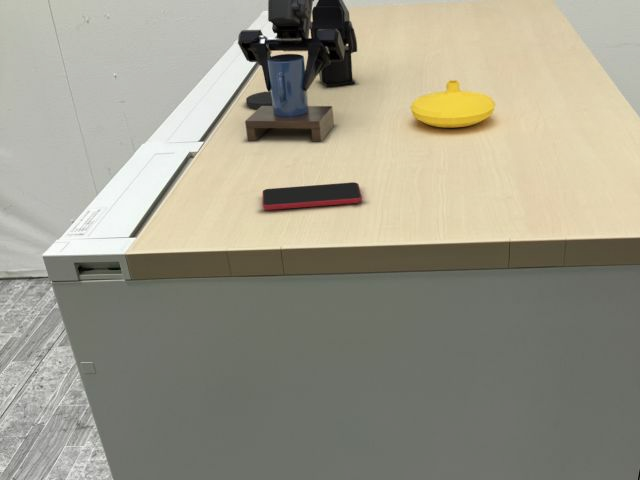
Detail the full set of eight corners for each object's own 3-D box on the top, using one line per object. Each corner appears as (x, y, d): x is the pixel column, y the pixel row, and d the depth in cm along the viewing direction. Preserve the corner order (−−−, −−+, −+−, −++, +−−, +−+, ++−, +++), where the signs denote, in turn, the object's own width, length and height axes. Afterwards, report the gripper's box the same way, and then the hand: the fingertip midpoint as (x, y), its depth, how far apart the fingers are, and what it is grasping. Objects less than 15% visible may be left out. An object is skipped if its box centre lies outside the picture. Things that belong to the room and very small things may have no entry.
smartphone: (362, 198, 124) (262, 205, 123) (362, 204, 124) (263, 211, 123) (358, 181, 129) (262, 189, 128) (358, 187, 130) (263, 194, 129)
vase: (435, 140, 147) (435, 97, 142) (396, 119, 158) (395, 79, 153) (511, 125, 151) (513, 84, 147) (467, 106, 163) (468, 67, 158)
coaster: (289, 94, 176) (288, 88, 175) (299, 106, 169) (298, 99, 168) (243, 100, 174) (242, 94, 174) (251, 112, 167) (250, 106, 166)
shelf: (263, 125, 159) (261, 105, 157) (333, 125, 157) (332, 106, 155) (247, 140, 152) (244, 120, 150) (321, 141, 149) (319, 121, 147)
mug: (279, 106, 156) (273, 53, 150) (312, 107, 155) (308, 53, 149) (266, 119, 150) (259, 64, 144) (301, 119, 149) (295, 64, 143)
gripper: (232, -22, 144) (221, 62, 143) (335, -25, 141) (325, 62, 140) (253, 20, 155) (243, 99, 154) (349, 19, 152) (339, 99, 151)
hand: (286, 89), depth 149 cm, fingers closed on mug, 6 cm apart
